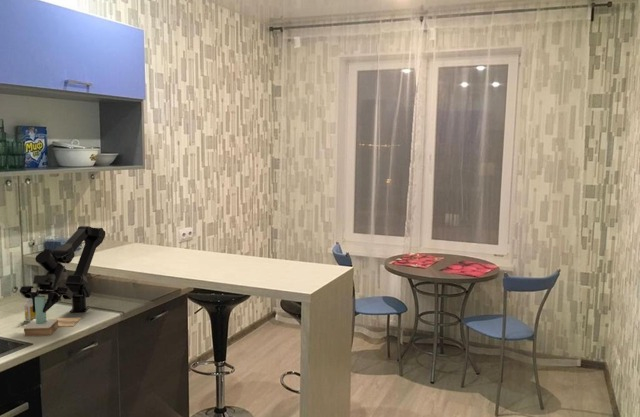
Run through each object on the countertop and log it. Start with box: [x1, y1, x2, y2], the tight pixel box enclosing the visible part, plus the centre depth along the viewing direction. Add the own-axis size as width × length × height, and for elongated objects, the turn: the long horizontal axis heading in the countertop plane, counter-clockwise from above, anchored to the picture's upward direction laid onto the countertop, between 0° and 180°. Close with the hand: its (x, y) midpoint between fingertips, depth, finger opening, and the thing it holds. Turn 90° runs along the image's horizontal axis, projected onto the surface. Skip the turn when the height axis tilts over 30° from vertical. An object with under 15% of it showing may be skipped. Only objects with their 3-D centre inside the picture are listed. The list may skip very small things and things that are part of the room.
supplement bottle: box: [23, 298, 36, 323], centre depth 220 cm, size 5×5×10 cm
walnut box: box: [23, 320, 59, 337], centre depth 207 cm, size 9×9×3 cm
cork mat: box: [56, 316, 82, 328], centre depth 218 cm, size 10×10×1 cm
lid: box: [24, 295, 58, 329], centre depth 206 cm, size 9×9×11 cm
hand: (38, 312), depth 205 cm, fingers closed on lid, 4 cm apart
